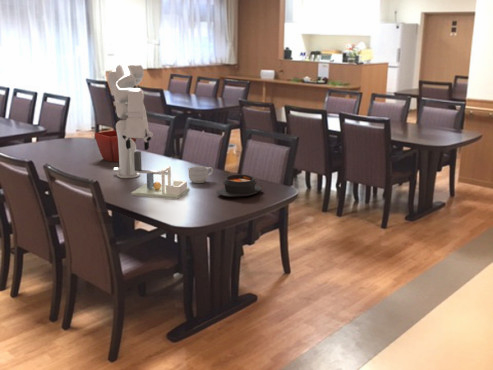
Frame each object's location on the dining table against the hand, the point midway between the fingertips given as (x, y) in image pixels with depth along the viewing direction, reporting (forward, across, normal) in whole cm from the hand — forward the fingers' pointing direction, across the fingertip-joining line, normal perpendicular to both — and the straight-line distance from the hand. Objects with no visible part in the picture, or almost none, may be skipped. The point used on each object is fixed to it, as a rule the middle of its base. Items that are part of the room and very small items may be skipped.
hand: (137, 149), depth 285 cm
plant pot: (+20, -43, +61) cm, 77 cm away
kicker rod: (+20, +8, +1) cm, 21 cm away
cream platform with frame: (+22, +12, +1) cm, 25 cm away
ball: (+18, +10, +1) cm, 21 cm away
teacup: (+22, +25, +26) cm, 42 cm away
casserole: (+22, +51, +10) cm, 56 cm away
